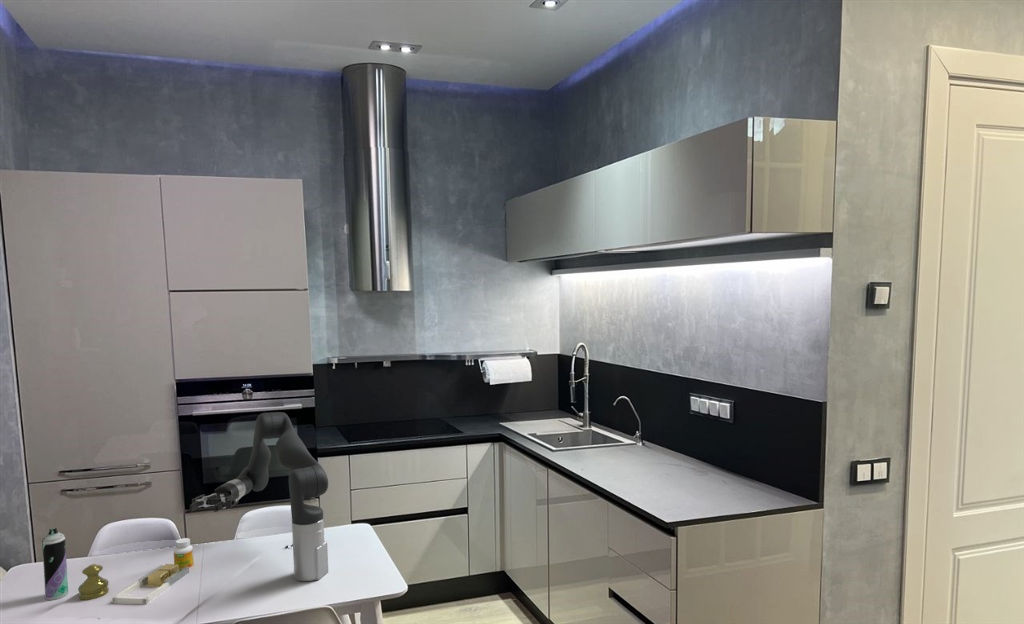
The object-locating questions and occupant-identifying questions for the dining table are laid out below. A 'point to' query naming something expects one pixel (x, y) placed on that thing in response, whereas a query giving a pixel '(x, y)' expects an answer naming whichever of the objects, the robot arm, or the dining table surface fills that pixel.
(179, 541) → the supplement bottle
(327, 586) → the dining table surface
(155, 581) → the tan block
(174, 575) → the rail
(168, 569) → the chip
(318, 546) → the robot arm
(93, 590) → the gold metal knob shape
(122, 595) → the tray
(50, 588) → the spray can
